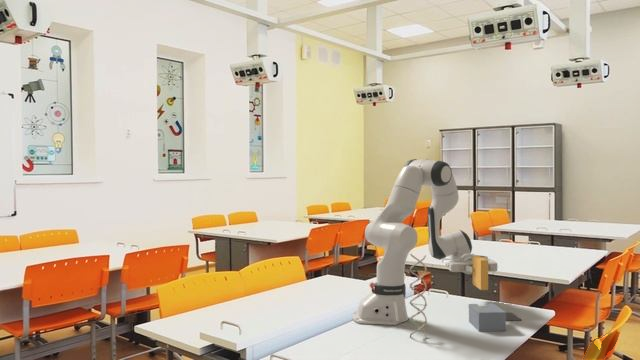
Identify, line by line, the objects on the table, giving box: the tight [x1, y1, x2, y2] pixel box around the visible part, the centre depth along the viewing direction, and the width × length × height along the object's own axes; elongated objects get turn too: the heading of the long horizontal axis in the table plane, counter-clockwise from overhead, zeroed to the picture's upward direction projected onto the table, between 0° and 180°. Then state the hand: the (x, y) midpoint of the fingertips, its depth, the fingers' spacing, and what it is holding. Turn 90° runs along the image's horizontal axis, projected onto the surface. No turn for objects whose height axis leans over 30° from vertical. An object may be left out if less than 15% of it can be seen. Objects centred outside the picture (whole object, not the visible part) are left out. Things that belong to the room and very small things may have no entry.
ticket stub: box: [472, 255, 489, 291], centre depth 212 cm, size 3×10×12 cm, turn 2°
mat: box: [506, 312, 522, 322], centre depth 209 cm, size 10×10×1 cm
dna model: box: [408, 253, 428, 340], centre depth 185 cm, size 7×6×30 cm
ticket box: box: [468, 303, 507, 332], centre depth 198 cm, size 10×12×7 cm
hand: (478, 270), depth 214 cm, fingers closed on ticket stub, 3 cm apart
